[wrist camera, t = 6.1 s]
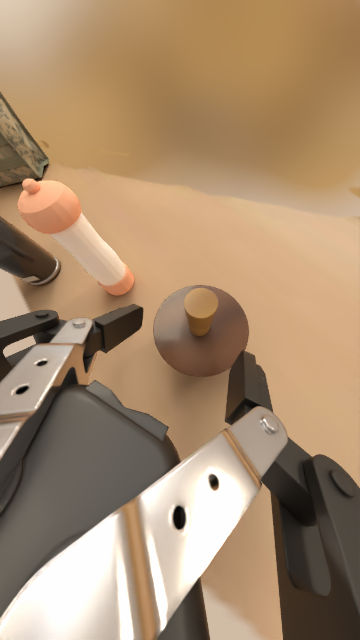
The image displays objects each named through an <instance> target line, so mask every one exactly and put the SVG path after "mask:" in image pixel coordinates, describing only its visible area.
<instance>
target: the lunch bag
mask: <svg viewBox="0 0 360 640" xmlns="http://www.w3.org/2000/svg"><path fill="white" fill-rule="evenodd" d="M47 163H49V159H48V157H47V156H46V155H45V153H44V152H43V151H42V149H41V148H40V146H39V145H38V144H37V142H36V141H35V140H34V139H33V137H32V136H31V135H30V133H29V132H28V131H27V129H26V128H25V127H24V125H23V124H22V122H21V121H20V120H19V118H18V117H17V115H16V114H15V112H14V111H13V109H12V108H11V106H10V105H9V104H8V102H7V101H6V99H5V98H4V96H3V95H2V94H1V92H0V187H2V186H6V185H10V184H14V183H19V182H23V181H24V180H25V179H37V178H42V173H43V168H44V167H43V166H45V165H46V164H47Z"/></svg>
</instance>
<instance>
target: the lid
mask: <svg viewBox="0 0 360 640" xmlns="http://www.w3.org/2000/svg"><path fill="white" fill-rule="evenodd" d="M153 333H154V340H155V344H156V346H157V349H158V351H159V353H160V354H161V356H162V357H163V359H164V360H165V361H166V362H167V363H168V364H169V365H170V366H172V367H173V368H175V369H176V370H178V371H180V372H182V373H184V374H187V375H191V376H197V377H206V376H213V375H216V374H219V373H222V372H224V371H226V370H227V369H229V368H230V367H232V365H233V364H234V362H235V360H236V359H237V357H238V356H239V354H240V352H241V351H242V350H243V351H244V350H245V348H246V346H247V342H248V336H249V327H248V321H247V318H246V315H245V313H244V311H243V309H242V308H241V306H240V305H239V303H238V302H237V301H236V300H235V299H234V298H233V297H232V296H230V295H229V294H228V293H226V292H224V291H222V290H220V289H218V288H215V287H211V286H205V285H196V286H189V287H186V288H183V289H180V290H178V291H176V292H175V293H173V294H172V295H170V296H169V297H168V298H167V299H166V300H165V301H164V302H163V304H162V305H161V306H160V308H159V310H158V312H157V314H156V317H155V321H154V328H153Z"/></svg>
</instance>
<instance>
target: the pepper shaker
mask: <svg viewBox="0 0 360 640" xmlns="http://www.w3.org/2000/svg"><path fill="white" fill-rule="evenodd" d="M22 186H23V188H24V191H23V192H22V193H21V195H20V198H19V201H18V206H17V207H18V209H19V212H20V214H21V216H22V218H23V219H24V221H25V222H26V223H27V224H28V225H29V226H30V227H32V228H34V229H35V230H37V231H39V232H42V233H45V234H49V235H50V236H51V237H52V238H54V239H55V240H56V241H57V242H58V243H59V244H60V245H61V246H63V247H64V248H65V249H66V250H67V251H68V252H69V253H70V254H71V255H73V257H74V258H75V259H76V260H77V261H78V262H79V264H80V265H81V266H82V267H83V268H84V269H85V270H86V272H87V273H88V274H90V275H91V276H92V277H94V278H95V279H96V280H97V282H98V283H99V285H100V286H102V287H103V288H104V289H105V290H106V291H108V292H109V293H110V294H112V295H122V294H125V293H127V292H128V291H129V290H130V289H131V288H132V286H133V284H134V276H133V274H132V273H131V271H130V270H129V269H128V267H127V266H126V264H125V263H123V262H121V260H120V259H119V257H118V256H117V254H116V253H115V252H114V251H113V249H112V248H111V247H110V246H109V245H108V244H107V243H106V242H105V241H104V240H103V239H102V238H101V237H100V236H99V235H98V234H97V233H96V231H95V230H94V229H93V227H92V226H91V225H90V223H89V222H88V221H87V220H86V218H85V217H84V216H83V214H82V213H81V206H80V203H79V200H78V198H77V196H76V195H75V194H74V193H73V192H72V191H71V190H70V189H69V188H68V187H66V186H65V185H63V184H62V183H60V182H58V181H39V182H36V181H35V180H33V179H25V180H24V181H23V183H22Z"/></svg>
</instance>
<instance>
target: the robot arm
mask: <svg viewBox="0 0 360 640" xmlns="http://www.w3.org/2000/svg"><path fill="white" fill-rule="evenodd" d="M60 266H61V265H60V261H59V260H58V259H57V258H55V257H54V256H53V255H52V254H50V253H49V252H48V251H46V250H45V249H44V248H42V247H41V246H40V245H38V244H37V243H36V242H34V241H33V240H32V239H30V238H29V237H28V236H27V235H25V234H24V233H23V232H21V231H20V230H19V229H17V228H16V227H15V226H13V225H12V224H10V223H8V222H7V221H6V220H4V219H3V218H2V217H0V269H2V270H5V271H7V272H8V273H10V274H13V275H15V276H17V277H19V278H21V279H20V280H23V281H25V282H28V283H30V284H32V285H35V286H41V285H44V284H47V283H49V282H50V281H51V280H53V279H54V278H55V277H56V276H57V274H58V272H59V270H60ZM142 320H143V308H142V307H140V306H138V305H135V304H132V305H130V306H128V307H124V308H119V309H116V310H114V311H112V312H109V313H107V314H104V315H102V316H100V317H97V318H95V319H93V320H90V319H88V318H75V319H71V320H69V321H65V320H61V319H59V316H58V313H57V312H56V311H52V310H40V311H35V312H31V313H28V314H25V315H21V316H18V317H14V318H10V319H7V320H3V321H0V640H210V636H209V629H208V623H207V617H206V611H205V604H204V598H203V592H202V585H201V579H200V575H201V574H202V572H203V571H204V569H205V568H206V566H207V565H208V564H209V562H210V561H211V559H212V558H213V556H214V555H215V554H216V552H217V551H218V549H219V548H220V546H221V545H222V544H223V542H224V541H225V539H226V538H227V537H228V535H229V534H230V532H231V531H232V529H233V528H234V527H235V525H236V524H237V522H238V521H239V519H240V518H241V517H242V515H243V514H244V512H245V511H246V509H247V508H248V507H249V505H250V504H251V502H252V501H253V499H254V498H255V497H256V495H257V494H258V492H259V491H260V489H261V486H262V483H261V481H262V482H263V484H264V485H265V486H266V487H267V488H268V489H269V490H270V491H271V503H272V514H273V526H274V538H275V549H276V561H277V573H278V584H279V596H280V608H281V620H282V631H283V640H360V488H359V487H358V486H357V484H356V483H355V482H354V480H353V479H352V478H351V477H350V475H349V474H348V473H347V472H346V471H345V470H344V469H343V468H342V467H341V466H340V465H338V464H337V463H336V462H335V461H333V460H332V459H330V458H329V457H327V456H324V455H320V454H319V455H316V456H313V457H311V456H310V455H309V454H308V453H307V452H305V451H304V450H303V449H302V448H301V447H299V446H298V445H297V444H296V443H295V442H293V441H292V440H291V439H290V438H289V437H288V435H287V432H286V429H285V427H284V425H283V424H282V422H281V421H280V419H279V418H278V417H277V416H276V415H275V414H274V413H273V409H272V405H271V400H270V395H269V390H268V385H267V382H266V376H265V373H264V371H263V370H262V368H261V366H259V365H257V364H256V360H255V355H253V354H250V353H248V352H246V351H243V350H242V351H241V352H240V354H239V356H238V357H237V359H236V360H235V362H234V364H233V365H232V367H231V370H230V374H229V384H228V394H227V404H226V415H225V422H227V423H228V424H230V425H231V426H230V427H229V428H228V429H224V430H223V431H221V432H220V433H219V434H217V435H216V436H215V437H213V438H212V439H211V440H210V441H208V442H207V443H206V444H204V445H203V446H202V447H200V448H199V449H198V450H196V451H195V452H194V453H193V454H191V455H190V456H189V457H187V458H186V459H185V460H183V461H182V462H181V461H180V458H179V455H178V453H177V450H176V448H175V446H174V445H173V443H172V441H171V440H170V438H169V437H168V436H167V435H166V433H167V430H168V428H169V427H168V426H166V425H164V424H163V423H161V422H160V421H158V420H157V419H155V418H154V417H152V416H150V415H149V414H146V413H142V412H139V411H135V410H132V409H128V408H125V407H124V406H123V405H122V404H121V402H120V401H119V400H118V398H117V397H116V396H115V395H114V393H113V392H112V391H111V390H110V389H109V388H107V387H105V386H104V385H102V384H101V383H99V382H98V381H96V380H95V381H93V382H92V383H91V384H90V385H88V379H89V376H90V373H91V370H92V367H93V364H94V362H95V359H96V356H97V351H99V350H101V351H103V352H104V353H107V352H108V351H110V350H111V349H113V348H114V347H115V346H117V345H118V344H120V343H121V342H123V341H124V340H125V339H127V338H128V337H130V336H131V335H132V334H134V333H135V332H137V331H138V330H139V329H140V328H141V326H142ZM32 335H33V337H34V339H35V341H36V344H35V345H33V346H30V347H28V348H26V349H24V350H22V351H19V352H17V353H15V354H13V355H11V356H8V357H6V358H5V356H4V354H3V350H4V348H5V347H6V346H7V345H9V344H12V343H14V342H16V341H19V340H22V339H24V338H27V337H29V336H32ZM260 480H261V481H260Z"/></svg>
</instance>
